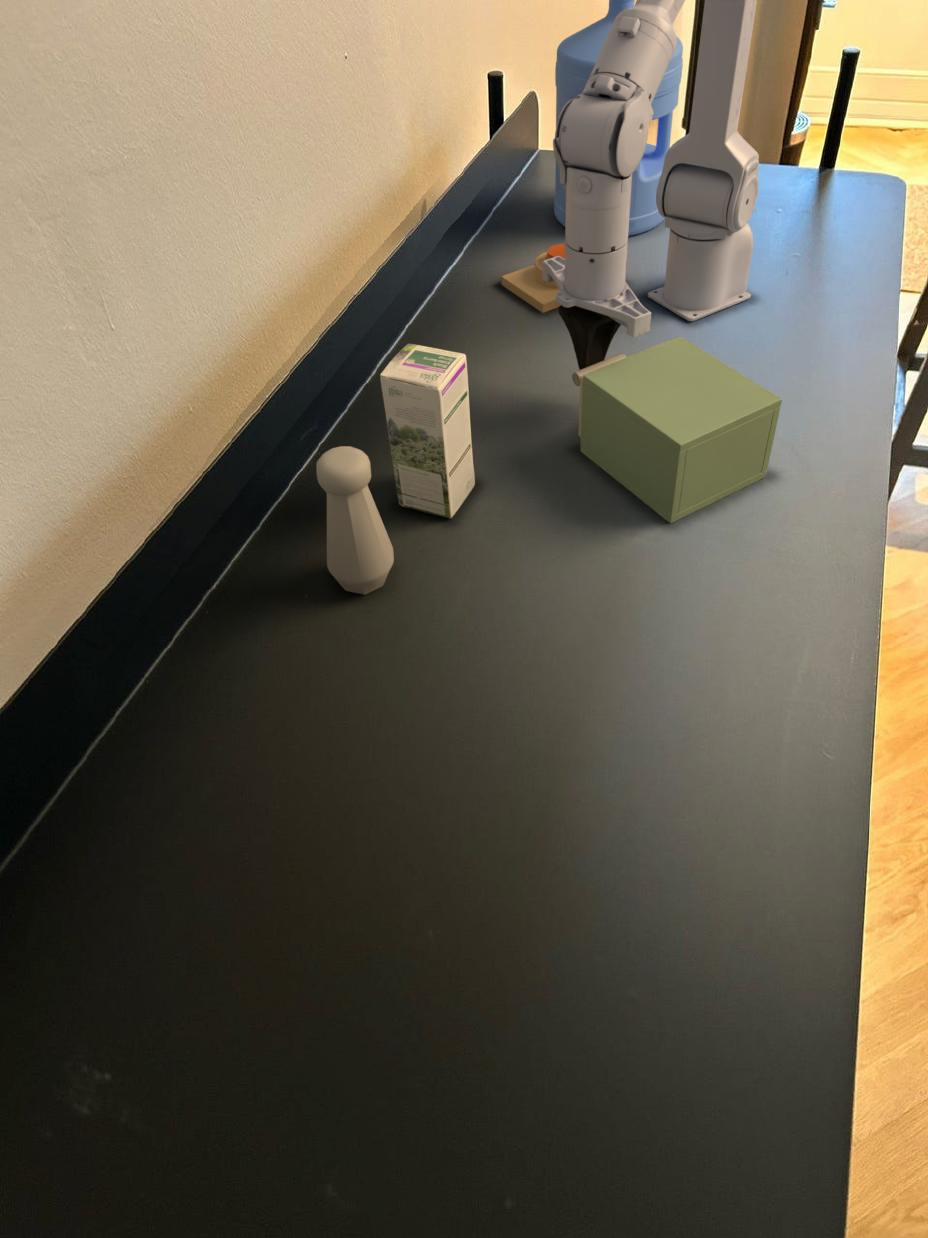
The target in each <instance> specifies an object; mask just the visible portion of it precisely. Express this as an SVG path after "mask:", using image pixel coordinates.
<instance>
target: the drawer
mask: <svg viewBox="0 0 928 1238" xmlns="http://www.w3.org/2000/svg"><path fill="white" fill-rule="evenodd" d="M664 342H665V341H663V342H662V343H664ZM659 344H660V343H658V344H656V345H653V346H651V347H649V348H652V347H654V346H657V345H659ZM649 348H646V349H644V350H647V349H649ZM644 350H641V351H638V352H636V353H634V354H637V353H639V352H642V351H644ZM634 354H631V355H630V356H632V355H634ZM627 357H628V356H626V354H624V353H619V354H616V355H614V356H611V357H609V358H605V360H604V361H601V362H599V363H596V364H594V365H591V366H589V367H586V368H584V369H581V370H579V369H578V370H576V371H574V372H573V373H572V374H571V379H572V382H573V384H574V385H575V386H576V387H579V409H578V433H577V435H578V437H579V438H581V418H582V390H583V375H585V374H588V373H590V372H593V371H595V370H598V369H600V368H602V367H605V366H607V365H610V364H612V363H615V362H617V361H620V360H622V359H625V358H627Z"/></svg>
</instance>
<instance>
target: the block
mask: <svg viewBox="0 0 928 1238" xmlns="http://www.w3.org/2000/svg"><path fill="white" fill-rule="evenodd" d="M544 260H547V251H545V252H543V253H540V254H539V255H538V256H537V257H536V258H535V259H534V264H533V265H530V266H526V267H524V268H521V269H518V270H516V271H512V272H509V273H507V274H504V275H502V276H501V279H500V280H501V286H502V287H504V289H507V290H508V291H510V292H511V293H512V294H514V295H516V296H517V298H520V299H522V300H523V301H524V302H526V303H527V304H529V305H530V306H531V307H533V308H535V309H536V310H537V311H539V312H540V313H542V314H544V313H547V312H549V311H551V310H552V311H553V310H554V309H559V306H561V304H559V303H558V302H556V294H557V293H558V292H560V291H559V289H558V287H557V285H556V284H555V282H554V281H552V282H546V281H545V280H543V261H544Z"/></svg>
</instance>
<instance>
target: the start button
mask: <svg viewBox="0 0 928 1238" xmlns="http://www.w3.org/2000/svg"><path fill="white" fill-rule="evenodd" d="M546 252H547V259H550V258H553V257H556V256H560V257H562V258H564V259H565V243H559V244H555V245H552V246H550V247H548V248H547V250H546Z"/></svg>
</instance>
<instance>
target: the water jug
mask: <svg viewBox="0 0 928 1238" xmlns="http://www.w3.org/2000/svg"><path fill="white" fill-rule="evenodd" d="M635 4H636V1H635V0H608V10H607V13H606V15H605V17H603V18H600V19H598V20H596V21H595V22H593V23H592V24H590V25H588V26H585V27H584V28H582V29H580V30H578V31H576V32H575V33H573V34H570V35H569V36H567V37H566V38H564V39H563V40H562V41H561V42H560V43H559V45H558V46H557V49H556V60H555V61H556V62H555V67H554V71H555V72H554V73H555V74H554V75H555V76H554V77H555V78H554V80H555V81H554V82H555V88H556V89H555V102H556V103H555V127H556V126H557V122H558V118H559V115H560V113H561V111H562V109H563V107H564V105H565V104H566V103H567V102H568V101H569V100H571V99H574V98H576V99H577V95H579V94H583V91H584V89H585V86H586V84H587V82H588V80H589V77H590V75H591V73H592V70H593V68H594V66H595V64H596V61H597V59H598V57H599V54H600V52H601V50H602V48H603V45H604V43H605V41H606V38H607V36H608V34H609V32H610V29H611V27H612V25H613V23H614V20H615V18H616V16H617V15H618V14H619V13H620V12H622V11H623V10H625V9H628V8H631V7H634V6H635ZM676 39H677V46H676V49H675V51H674V54H673V56H672V58H671V60H670V63H669V65H668V67H667V70H666V72H665V74H664V76H663V79H662V81H661V83H660V85H659V88H658V90H657V92H656V94H655V97H654V99H653V101H652V104H651V106H652V109H653V115H652V121H656V120H658V121H657V131H656V132H657V133H656V145H654V144H652V143H648V142H647V144H646V148H645V151H644V154H643V157H642V159H641V161H640V163H639V165H638V166H637V168H636V170H635V171H634V172H633V173H632V184H631V200H630V215H629V230H628V237H630V236H636V235H639V234H642V233H646V232H648V231H650V230H652V229H654V228H656V227H658V226H659V225H660V224H662V222H664V221H665V217H662V216H661V215H660V214H659V211H658V208H657V205H656V192H657V186H658V182H659V179H660V176H661V174H662V170H663V165H664V159H665V155H666V153H667V151H668V150H669V148H670V147H671V138H672V126H673V116H674V110H675V109H676V108H677V107H678V104H679V95H680V86H681V82H682V76H683V65H684V64H683V63H684V60H683V53H684V52H683V51H684V46H683V42H682V40H681V39H680V38H679V37H678V36H677V35H676ZM554 185H555V189H554V191H555V192H554V193H555V194H554V197H553V212H554V216H555V218H556V220H557V221H558V222H559V223H560V224H561V225H562V226H563V227H565V223H566V189H564V188H563V187H562V185H561V184H560V168H559V165H558V163H557V161H556V160H555V183H554Z"/></svg>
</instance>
